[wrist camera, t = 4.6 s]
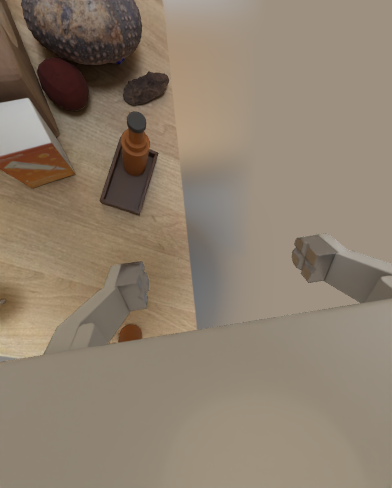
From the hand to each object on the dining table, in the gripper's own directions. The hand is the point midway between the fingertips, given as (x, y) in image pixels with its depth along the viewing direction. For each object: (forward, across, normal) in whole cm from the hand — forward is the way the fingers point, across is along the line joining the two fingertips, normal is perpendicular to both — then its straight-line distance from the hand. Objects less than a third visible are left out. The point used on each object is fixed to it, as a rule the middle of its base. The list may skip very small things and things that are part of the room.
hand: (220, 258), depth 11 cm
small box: (+34, +26, 0) cm, 43 cm away
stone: (+48, +7, -12) cm, 50 cm away
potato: (+43, +20, -10) cm, 48 cm away
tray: (+36, +12, +5) cm, 38 cm away
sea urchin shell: (+46, +14, -16) cm, 51 cm away
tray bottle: (+37, +11, +3) cm, 39 cm away
